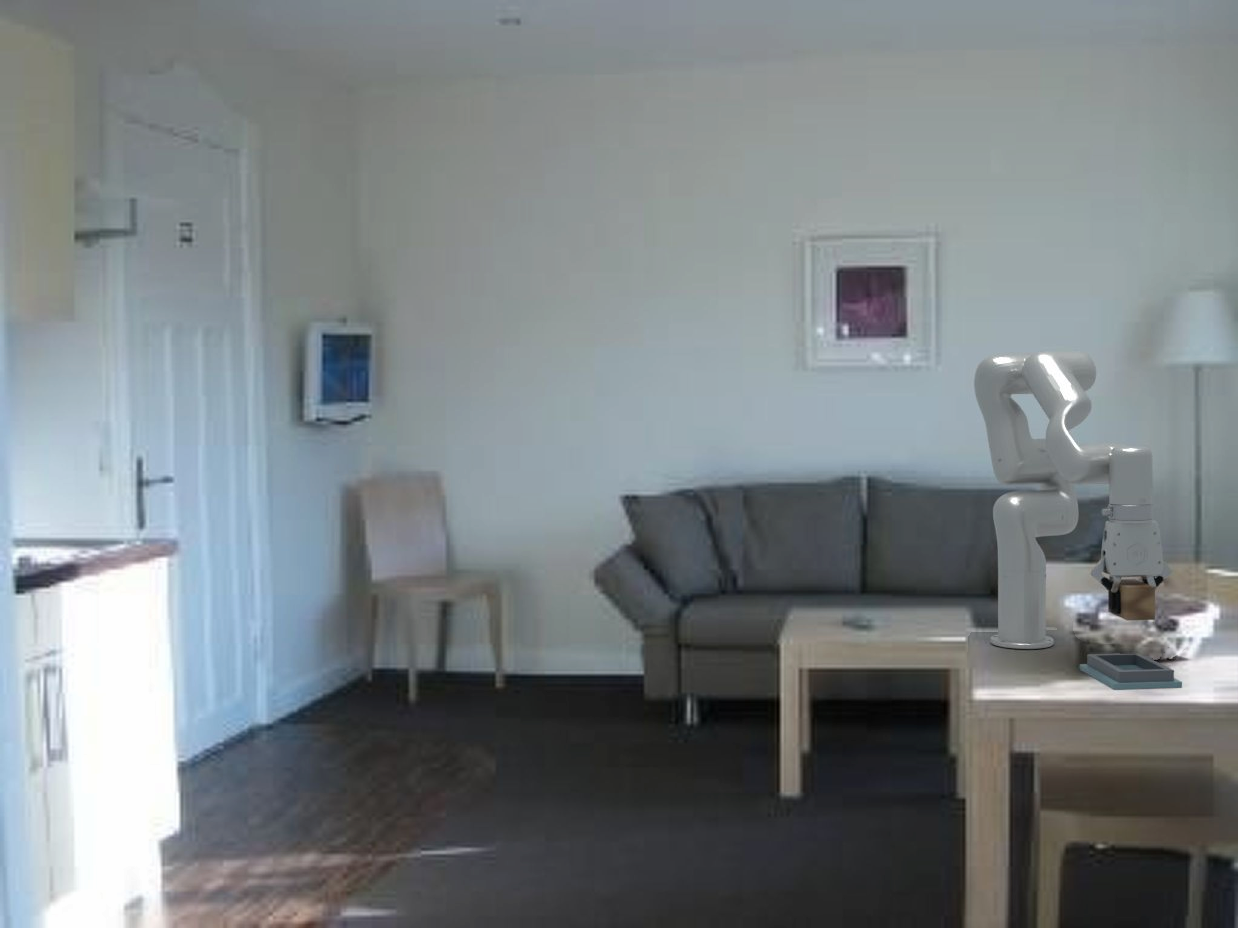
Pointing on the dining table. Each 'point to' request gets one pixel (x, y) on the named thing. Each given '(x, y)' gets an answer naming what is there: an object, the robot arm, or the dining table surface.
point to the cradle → (1129, 671)
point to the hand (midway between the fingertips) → (1131, 611)
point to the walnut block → (1136, 600)
